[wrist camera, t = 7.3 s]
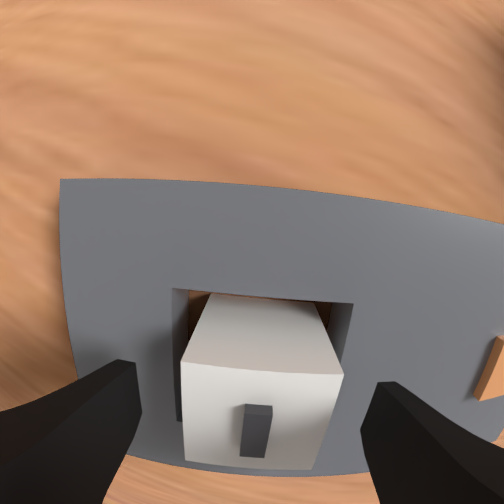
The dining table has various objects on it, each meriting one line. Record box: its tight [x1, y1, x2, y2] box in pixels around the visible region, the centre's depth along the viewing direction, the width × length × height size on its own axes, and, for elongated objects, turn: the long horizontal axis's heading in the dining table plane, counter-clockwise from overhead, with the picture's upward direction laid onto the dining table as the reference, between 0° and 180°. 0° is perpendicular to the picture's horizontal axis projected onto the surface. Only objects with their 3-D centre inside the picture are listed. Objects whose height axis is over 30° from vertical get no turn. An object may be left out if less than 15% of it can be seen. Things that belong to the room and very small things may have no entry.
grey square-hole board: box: [59, 179, 504, 477], centre depth 11 cm, size 12×22×3 cm, turn 85°
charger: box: [181, 293, 344, 470], centre depth 10 cm, size 4×4×5 cm
